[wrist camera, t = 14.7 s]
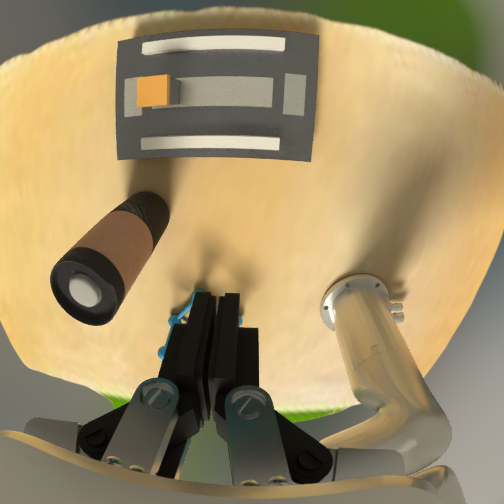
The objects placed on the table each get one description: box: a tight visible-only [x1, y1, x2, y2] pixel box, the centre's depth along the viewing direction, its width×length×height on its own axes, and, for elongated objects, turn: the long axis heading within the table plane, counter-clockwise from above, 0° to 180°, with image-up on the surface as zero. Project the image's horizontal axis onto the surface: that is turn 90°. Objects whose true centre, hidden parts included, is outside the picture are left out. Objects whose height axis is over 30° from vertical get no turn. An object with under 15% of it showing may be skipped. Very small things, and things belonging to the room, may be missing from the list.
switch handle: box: [137, 74, 180, 108], centre depth 26 cm, size 3×3×5 cm
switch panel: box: [116, 29, 319, 162], centre depth 29 cm, size 24×16×5 cm, turn 88°
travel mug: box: [50, 192, 169, 326], centre depth 31 cm, size 8×8×20 cm
